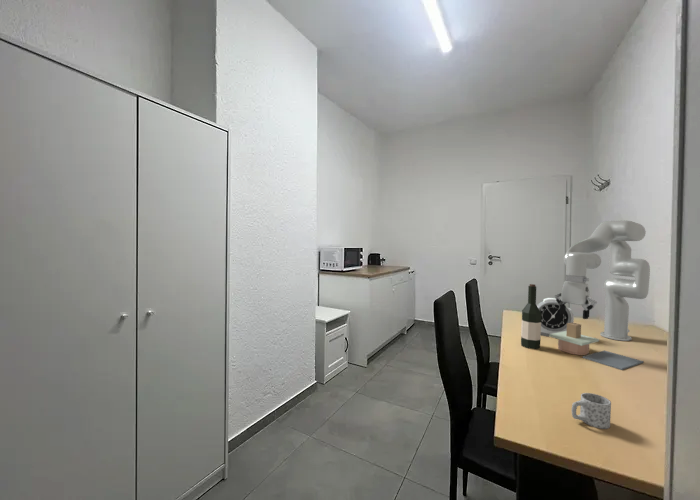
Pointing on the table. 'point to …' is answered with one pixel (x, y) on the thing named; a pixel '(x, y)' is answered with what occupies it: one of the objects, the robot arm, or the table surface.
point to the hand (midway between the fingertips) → (573, 316)
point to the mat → (613, 360)
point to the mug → (593, 410)
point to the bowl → (573, 348)
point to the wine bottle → (531, 321)
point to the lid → (574, 335)
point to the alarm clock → (553, 317)
